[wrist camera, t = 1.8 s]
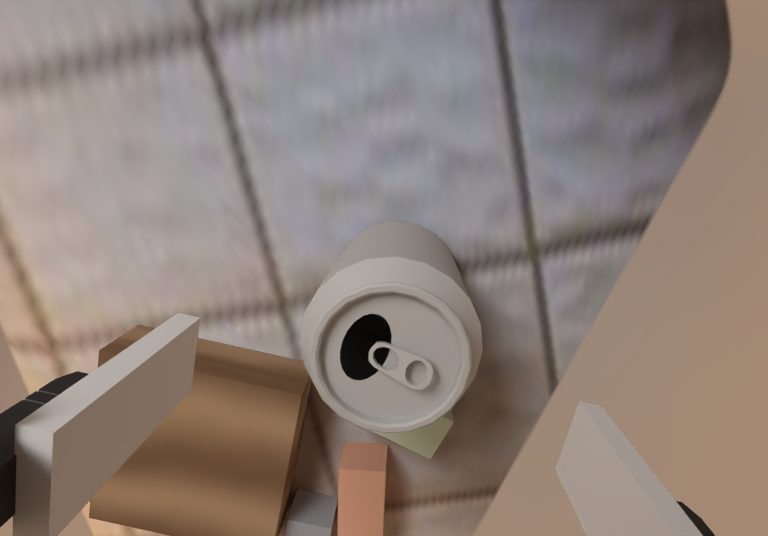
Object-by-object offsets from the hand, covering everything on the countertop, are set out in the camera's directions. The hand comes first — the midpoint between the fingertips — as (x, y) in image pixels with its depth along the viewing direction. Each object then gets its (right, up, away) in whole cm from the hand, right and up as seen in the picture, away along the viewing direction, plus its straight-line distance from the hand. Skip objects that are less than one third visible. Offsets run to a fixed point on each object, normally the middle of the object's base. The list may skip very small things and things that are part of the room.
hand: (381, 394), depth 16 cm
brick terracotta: (-1, -11, +17) cm, 20 cm away
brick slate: (-5, -15, +18) cm, 24 cm away
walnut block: (-12, -6, +16) cm, 21 cm away
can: (+1, +4, +13) cm, 14 cm away
